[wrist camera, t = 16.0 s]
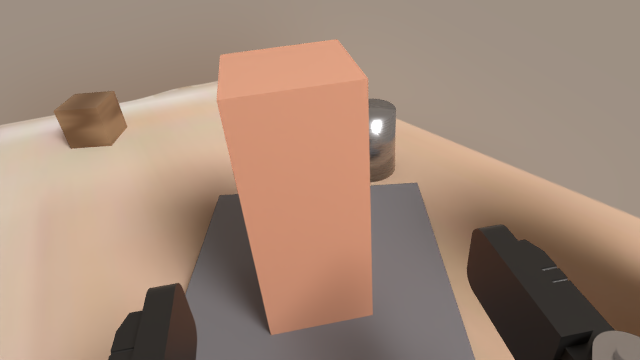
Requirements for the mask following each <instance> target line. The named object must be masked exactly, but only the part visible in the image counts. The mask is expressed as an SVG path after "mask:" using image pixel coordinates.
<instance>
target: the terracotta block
mask: <svg viewBox="0 0 640 360" xmlns="http://www.w3.org/2000/svg"><path fill="white" fill-rule="evenodd" d="M217 103H218V108H219V112H220V116H221V121H222V125H223V129H224V134H225V138H226V142H227V147H228V151H229V155H230V160H231V164H232V168H233V173H234V177H235V181H236V186H237V190H238V194H239V199H240V203H241V207H242V212H243V216H244V221H245V225H246V229H247V234H248V238H249V242H250V247H251V251H252V255H253V260H254V264H255V268H256V273H257V277H258V281H259V286H260V290H261V294H262V299H263V303H264V307H265V312H266V316H267V320H268V325H269V329H270V333H271V335H275V334H280V333H285V332H290V331H295V330H300V329H305V328H310V327H315V326H320V325H325V324H330V323H335V322H340V321H345V320H350V319H355V318H360V317H365V316H370V315H373V302H372V253H371V203H370V153H369V103H368V78H367V77H366V76H365V74H364V73H363V72H362V70H361V69H360V68H359V66H358V65H357V64H356V63H355V61H354V60H353V59H352V58H351V56H350V55H349V54H348V52H347V51H346V50H345V49H344V48H343V46H342V45H341V44H340V42H339V41H338V40H337V39H336V40H328V41H321V42H313V43H306V44H298V45H290V46H283V47H276V48H268V49H260V50H253V51H245V52H237V53H230V54H222V55H220V64H219V77H218V90H217Z"/></svg>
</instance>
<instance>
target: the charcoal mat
mask: <svg viewBox="0 0 640 360" xmlns="http://www.w3.org/2000/svg"><path fill="white" fill-rule="evenodd" d="M370 203H371V253H372V302H373V315H370V316H365V317H360V318H355V319H350V320H345V321H340V322H335V323H330V324H325V325H320V326H315V327H310V328H305V329H300V330H295V331H290V332H285V333H280V334H275V335H271V333H270V329H269V325H268V320H267V316H266V312H265V307H264V303H263V299H262V294H261V290H260V286H259V281H258V277H257V273H256V268H255V264H254V260H253V255H252V251H251V247H250V242H249V238H248V234H247V229H246V225H245V221H244V216H243V212H242V207H241V203H240V199H239V194H233V195H220V196H219V199H218V202H217V204H216V207H215V210H214V213H213V216H212V219H211V222H210V225H209V228H208V231H207V234H206V236H205V239H204V242H203V245H202V248H201V251H200V254H199V257H198V260H197V263H196V265H195V268H194V271H193V274H192V277H191V280H190V283H189V286H188V289H187V292H186V295H185V296H186V299H187V302H188V304H189V307H190V310H191V312H192V315H193V318H194V320H195V324H196V330H197V352H196V360H475V357H474V354H473V351H472V348H471V345H470V342H469V339H468V336H467V333H466V330H465V327H464V324H463V321H462V318H461V315H460V312H459V309H458V306H457V303H456V300H455V297H454V293H453V290H452V287H451V284H450V281H449V278H448V275H447V272H446V269H445V266H444V263H443V260H442V257H441V254H440V251H439V248H438V245H437V242H436V239H435V236H434V233H433V230H432V226H431V223H430V220H429V217H428V214H427V211H426V208H425V205H424V202H423V199H422V196H421V193H420V190H419V187H418V184H417V183H405V184H389V185H374V186H370Z"/></svg>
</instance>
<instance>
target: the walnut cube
mask: <svg viewBox="0 0 640 360" xmlns="http://www.w3.org/2000/svg"><path fill="white" fill-rule="evenodd" d="M54 113H55V115H56V117H57V120H58V122H59V124H60V126H61V128H62V130H63V132H64V135H65V137H66V139H67V141H68V143H69V145H70V147H71V148H85V147H99V146H112V144H113V143H114V142H115V141H116V140H117V138H118V137H119V136H120V135H121V134H122V132H123V131H124V130H125V129H126V128H127V125H126V122H125V119H124V117H123V114H122V111H121V109H120V106H119V103H118V100H117V98H116V95H115V92H114V91H108V92H95V93H83V94H75V95H73V96H72V97H70V98H69V99H68V100H67V101H65V103H63V104H62V105H61V106H59V107H58V108H57V109H56V110H54Z"/></svg>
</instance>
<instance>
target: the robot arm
mask: <svg viewBox="0 0 640 360" xmlns="http://www.w3.org/2000/svg"><path fill="white" fill-rule="evenodd" d="M467 276H468V280H469V284H470V286H471V288H472V290H473V292H474V294H475V295H476V297H477V299H478V300H479V302H480V303H481V305H482V307H483V308H484V310H485V312H486V313H487V315H488V316H489V318H490V320H491V321H492V323H493V325H494V326H495V328H496V329H497V331H498V333H499V334H500V336H501V338H502V339H503V341H504V342H505V344H506V346H507V347H508V349H509V351H510V352H511V354H512V355H513V357H514V359H515V360H640V337H638V336H636V335H633V334H630V333H626V332H622V331H615V330H614V329H613V328H612V327H611V326H610V325H609V324H608V323H607V321H606V320H605V319H604V318H603V317H602V316H601V315H600V314H599V312H598V311H597V310H596V309H595V308H594V307H593V306H592V305H591V303H590V302H589V301H588V300H587V299H586V298H585V297H584V296H583V295H582V293H581V292H580V291H579V290H578V289H577V288H576V287H575V286H574V284H573V283H572V282H571V281H568V279H567V277H566V275H565V274H564V273H563V272H562V271H561V270H560V269H559V268H557V265H556V264H555V263H554V262H553V261H552V260H551V259H550V258H549V256H548V255H547V254H546V253H545V252H544V251H543V250H541V249H540V248H538V247H537V246H535V245H533V244H532V243H530V242H528V241H527V240H520V241H518V240H517V239H516V238H515V237H514V235H513V234H512V233H511V232H510V231H509V230H508V228H507V227H506V226H504V225H495V226H490V227H484V228H478V229H475V230H474V231H473V233H472V238H471V245H470V252H469V258H468V265H467ZM196 352H197V330H196V324H195V320H194V318H193V315H192V312H191V310H190V307H189V304H188V302H187V299H186V296H185V294H184V291H183V288H182V286H181V285H180V284H179V283H176V284H171V285H165V286H159V287H154V288H149V289H148V291H147V294H146V298H145V302H144V307H143V311H138V312H132V313H129V314H128V316H127V317H126V319H125V320H124V321H123V323H122V324H121V326H120V327H119V328H118V330H117V331H116V334H115V338H114V341H113V345H112V348H111V355H110V356H109V359H108V360H196Z"/></svg>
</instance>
